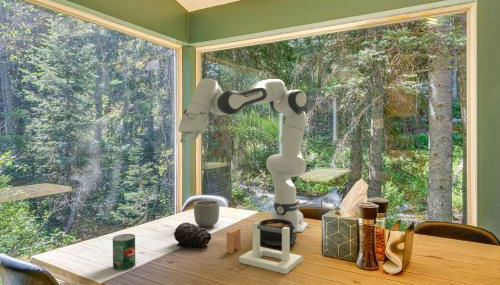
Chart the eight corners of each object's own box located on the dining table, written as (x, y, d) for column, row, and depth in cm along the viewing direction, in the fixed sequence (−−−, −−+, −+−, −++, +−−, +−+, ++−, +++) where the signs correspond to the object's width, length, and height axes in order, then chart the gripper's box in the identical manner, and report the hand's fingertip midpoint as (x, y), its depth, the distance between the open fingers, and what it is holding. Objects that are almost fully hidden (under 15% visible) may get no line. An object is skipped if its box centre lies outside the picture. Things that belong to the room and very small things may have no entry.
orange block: (235, 247, 136) (235, 228, 136) (240, 248, 135) (240, 229, 134) (226, 252, 131) (226, 231, 130) (231, 253, 129) (231, 232, 129)
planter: (224, 225, 170) (224, 201, 170) (208, 232, 159) (208, 206, 158) (205, 221, 178) (205, 199, 177) (188, 227, 166) (187, 203, 166)
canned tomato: (134, 269, 114) (134, 239, 114) (111, 272, 112) (111, 241, 112) (136, 261, 122) (135, 233, 121) (114, 263, 119) (113, 234, 119)
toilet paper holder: (239, 262, 120) (238, 225, 120) (258, 250, 132) (257, 217, 132) (286, 274, 109) (285, 234, 109) (302, 260, 121) (302, 224, 121)
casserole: (252, 233, 156) (252, 216, 156) (288, 232, 158) (288, 215, 158) (260, 251, 131) (260, 231, 131) (303, 248, 134) (303, 229, 134)
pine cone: (208, 251, 132) (208, 227, 132) (170, 247, 136) (169, 224, 136) (216, 243, 142) (216, 221, 142) (181, 240, 147) (180, 218, 146)
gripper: (215, 114, 128) (203, 146, 125) (193, 117, 145) (183, 144, 142) (202, 108, 125) (190, 140, 122) (181, 111, 141) (170, 139, 139)
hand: (186, 143), depth 132 cm, fingers open, 8 cm apart
